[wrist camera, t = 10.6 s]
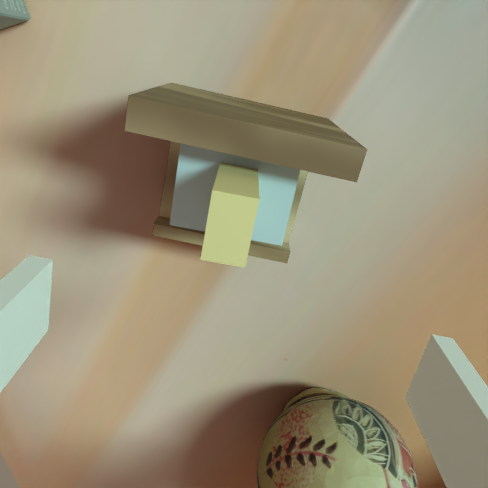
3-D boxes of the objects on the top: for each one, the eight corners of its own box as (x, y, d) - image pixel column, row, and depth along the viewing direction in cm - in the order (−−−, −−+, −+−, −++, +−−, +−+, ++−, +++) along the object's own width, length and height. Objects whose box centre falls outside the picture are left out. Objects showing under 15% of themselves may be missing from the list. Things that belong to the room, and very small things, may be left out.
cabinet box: (277, 218, 38) (289, 292, 26) (181, 200, 38) (148, 267, 26) (294, 146, 36) (315, 190, 24) (192, 126, 36) (161, 161, 23)
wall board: (296, 232, 45) (316, 310, 31) (153, 202, 44) (107, 268, 30) (327, 118, 41) (367, 149, 27) (171, 82, 40) (128, 95, 26)
